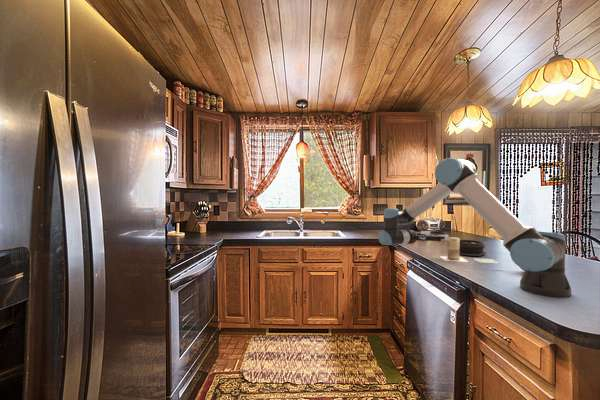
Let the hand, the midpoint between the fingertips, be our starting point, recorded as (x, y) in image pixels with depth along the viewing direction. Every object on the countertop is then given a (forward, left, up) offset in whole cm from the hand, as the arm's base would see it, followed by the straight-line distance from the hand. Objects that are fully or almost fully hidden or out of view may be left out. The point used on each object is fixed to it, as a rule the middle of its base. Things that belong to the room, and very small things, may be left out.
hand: (438, 235), depth 157 cm
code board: (+5, -9, -15) cm, 18 cm away
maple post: (+5, -9, -14) cm, 17 cm away
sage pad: (+4, -25, -15) cm, 29 cm away
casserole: (+25, -23, -15) cm, 37 cm away
